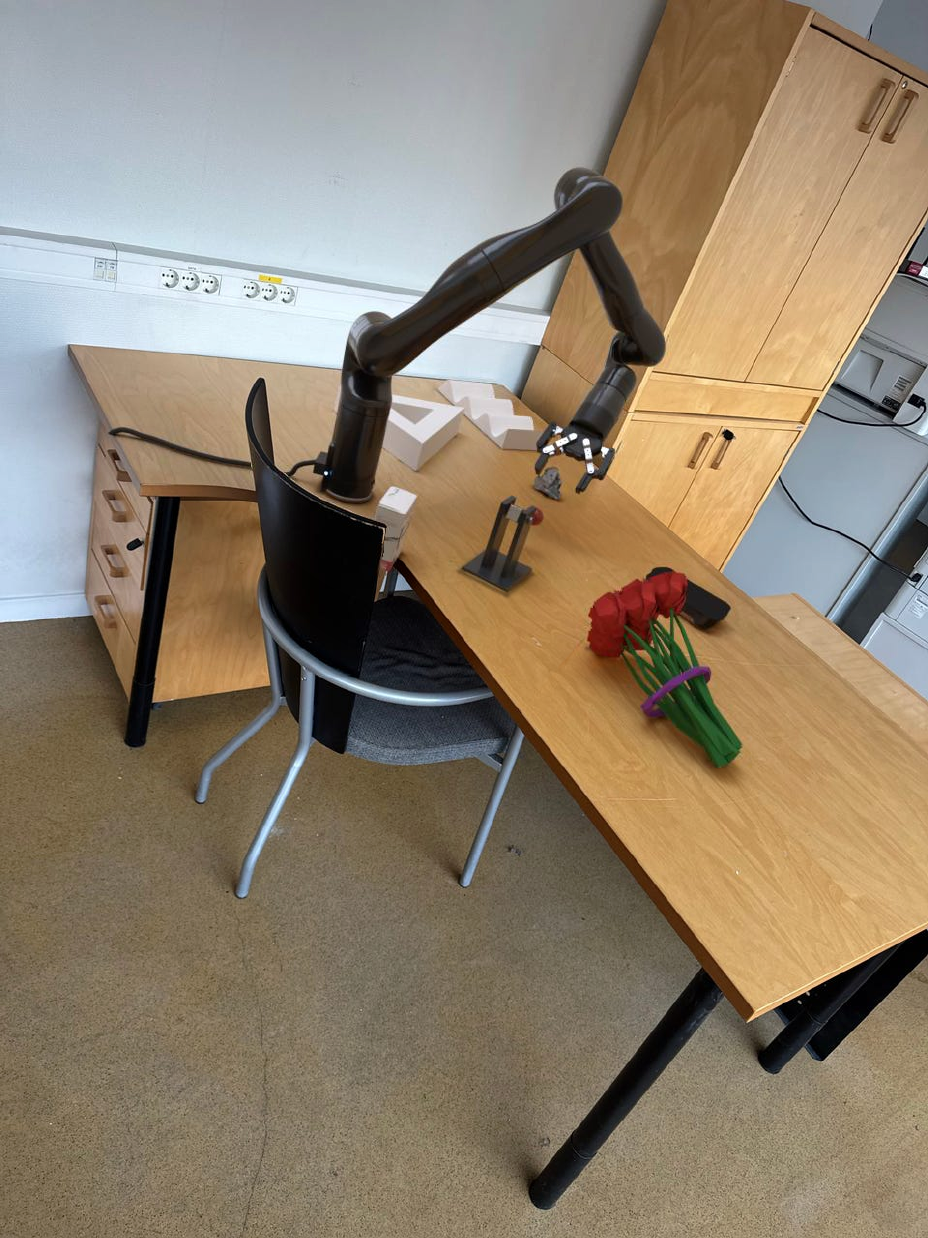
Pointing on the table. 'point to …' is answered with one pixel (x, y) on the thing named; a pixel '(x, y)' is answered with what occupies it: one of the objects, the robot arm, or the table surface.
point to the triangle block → (417, 428)
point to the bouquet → (663, 659)
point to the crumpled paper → (549, 482)
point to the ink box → (394, 522)
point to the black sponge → (698, 603)
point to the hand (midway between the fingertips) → (557, 482)
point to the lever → (516, 512)
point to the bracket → (496, 564)
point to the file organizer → (492, 414)
